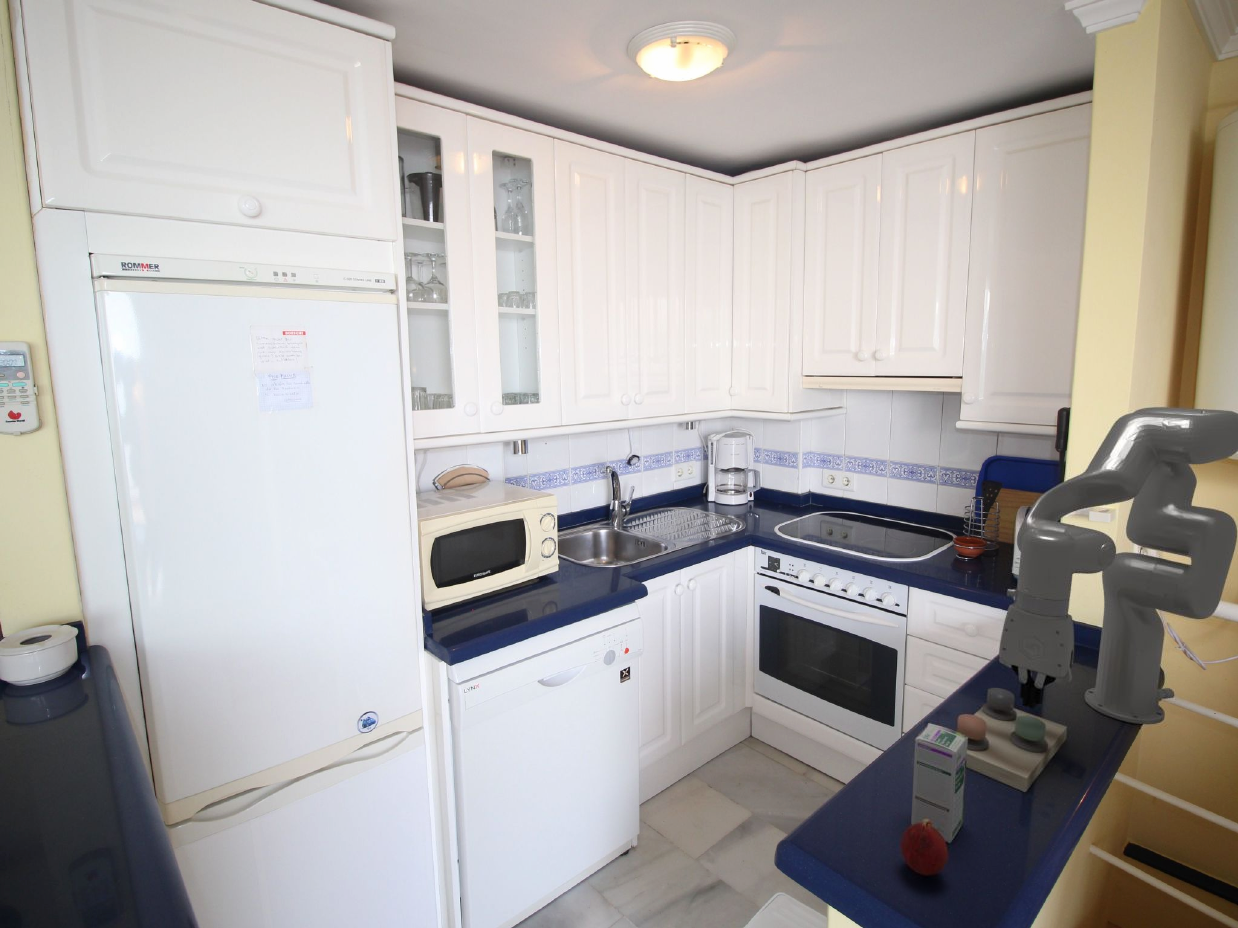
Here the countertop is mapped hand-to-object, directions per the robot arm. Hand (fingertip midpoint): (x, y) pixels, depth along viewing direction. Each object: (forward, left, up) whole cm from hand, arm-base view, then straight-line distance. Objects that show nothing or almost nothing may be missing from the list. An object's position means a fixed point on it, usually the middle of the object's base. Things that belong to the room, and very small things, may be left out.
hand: (1030, 704), depth 113 cm
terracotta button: (+9, -3, -6) cm, 11 cm away
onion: (+34, +20, -10) cm, 41 cm away
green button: (-1, 0, -6) cm, 6 cm away
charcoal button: (-3, -10, -6) cm, 12 cm away
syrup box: (+26, +12, -10) cm, 31 cm away
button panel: (+1, -3, -10) cm, 11 cm away
